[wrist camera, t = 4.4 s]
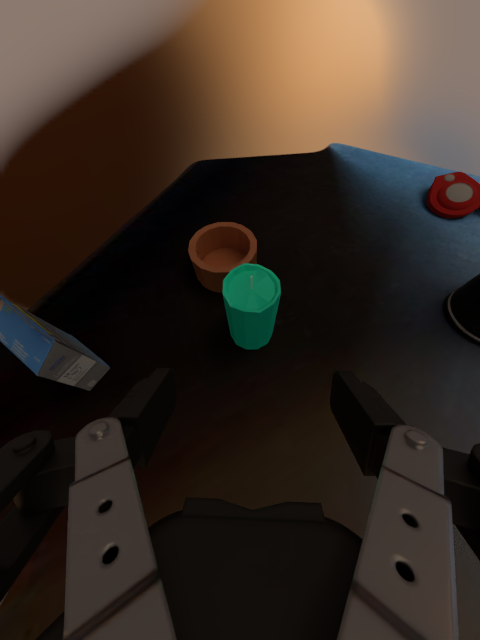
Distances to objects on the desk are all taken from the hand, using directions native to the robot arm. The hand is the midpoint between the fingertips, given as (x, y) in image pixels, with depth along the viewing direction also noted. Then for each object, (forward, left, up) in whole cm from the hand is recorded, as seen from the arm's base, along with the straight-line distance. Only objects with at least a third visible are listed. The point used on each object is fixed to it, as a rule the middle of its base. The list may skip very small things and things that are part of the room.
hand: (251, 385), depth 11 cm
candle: (-8, -8, -18) cm, 21 cm away
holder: (-13, -19, -17) cm, 29 cm away
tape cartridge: (+12, -21, -18) cm, 30 cm away
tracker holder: (-53, +1, -18) cm, 56 cm away
